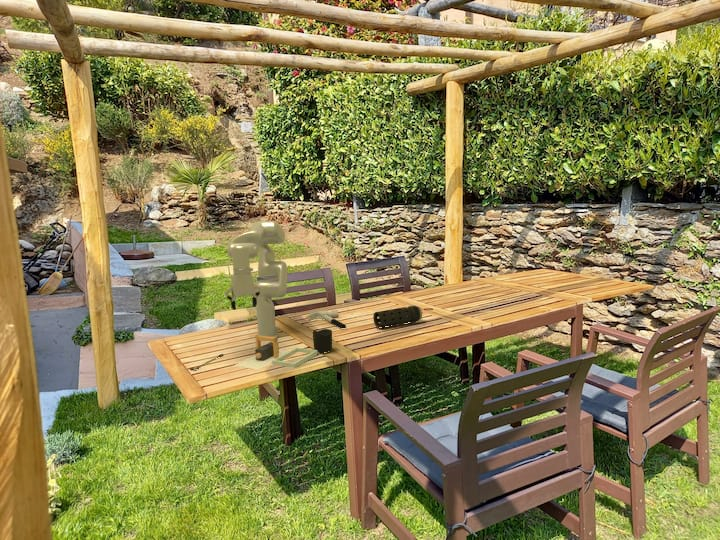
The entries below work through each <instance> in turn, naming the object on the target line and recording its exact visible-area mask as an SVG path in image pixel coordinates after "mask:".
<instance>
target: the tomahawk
mask: <svg viewBox="0 0 720 540" xmlns="http://www.w3.org/2000/svg"><path fill="white" fill-rule="evenodd" d="M224 356H225V355H224V353H221V354H219V355H218V356H217V357H215V358H212V359H210V360H208V361H206V362H204V363H202V364H201V365H199V366H196V367H194V368H193V367H191V368H190V369H189V370H190V371H194V372H198V371H200V370H199V368H200V369H201V368H202V367H204V366H206V365H207V364H209V363H211V362H213V361H216V360H217V359H216V358H218V357H220V358H222V357H224ZM218 359H219V358H218ZM197 369H198V370H197Z"/></svg>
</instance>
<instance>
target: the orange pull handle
mask: <svg viewBox="0 0 720 540" xmlns="http://www.w3.org/2000/svg"><path fill="white" fill-rule="evenodd" d="M255 337H256V338H255V347H256V348H255V349H257V348H259V347H261V345H262V343H261V341H264V342H265V341H266V342H273V350H274V358H277V357H278V356H279V355H278V347H279V340H278V338H279V337H278V338H277V337H268V336H260V335H258V336H256V335H255Z"/></svg>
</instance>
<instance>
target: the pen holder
mask: <svg viewBox="0 0 720 540" xmlns="http://www.w3.org/2000/svg"><path fill="white" fill-rule="evenodd" d="M312 339H313V340H312V341H313V350H318V353H324V352H328V351H331V350H332V351H333V330H332V329H328V328H322V329H320V330H312ZM332 351H331V352H332Z"/></svg>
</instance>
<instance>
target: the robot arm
mask: <svg viewBox="0 0 720 540" xmlns="http://www.w3.org/2000/svg"><path fill="white" fill-rule="evenodd" d="M285 240H286V233H285V230H284V228H283V227H282V226H281V225H280V223H278V222H277V221H274V220H258V221H255V222H253V224H252V225H251V226H250V228H249V230H248V231H247V232H244V233H242V234H240V235H237V236H236V237H234V238H233V239H232V240H231V241H229V244H228V246H227V251H226V252H227V256H228V257H229V258H230V259H232V268H233V269H232V270H233V271H232V273H233V274H232V275H231V278H230V279H231V281H230V288H229V289H228V290H226V291H224V293H223V294H224V296H225V297H226V298H227V299H228V300H229V301H230V306H231V309H232V310H234V311H235V310H236V308H237V307H236V301H235V300H236V298H239V297H247V296H248V297H249V296H251V297H252V299H251V301H252V306H253V307H254V308H256V320H257V323H256V324H257V325H256V326H257V334H256V335H255V336H258V335H260V336H268V337H277V338H279V336H280V335H279V333H278V331H279V330H280V329H281V327H280V325H279V326H276V316H275V315H276V313H275V310H276V309H275V304H274V302H273V300H272V299H273V298H276V299H278V298H283V297H284V298H285V296H286V293H287V290H288V289H287V286H288V285H287V284H288V266H287V263H286V262H285V261H283V260H275V257H276V255H275V254H276V252H275V251H274V250H273V248H272V247H271V246H270V245H280V244H284V242H285ZM256 257H258V266H257V275H258V277H259V278H260V280H257V281H256V282H254V278H253V274H252V273H251V272H253V271H254V268H253V267H251V266H250V259H251V260H252V259H255V258H256ZM230 293H231V295H232V296H230V295H229V294H230ZM271 298H272V299H271ZM254 339H256V337H255V338H254Z"/></svg>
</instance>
